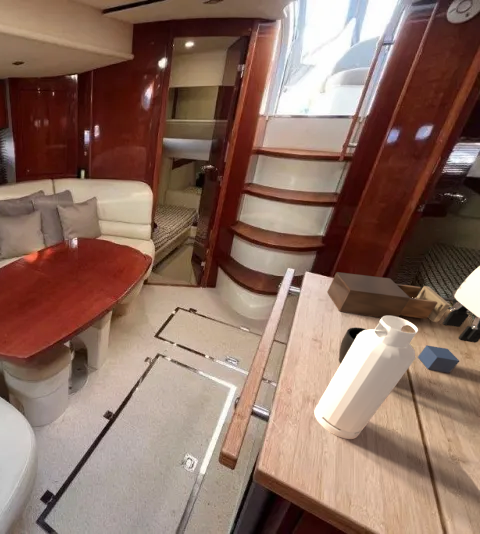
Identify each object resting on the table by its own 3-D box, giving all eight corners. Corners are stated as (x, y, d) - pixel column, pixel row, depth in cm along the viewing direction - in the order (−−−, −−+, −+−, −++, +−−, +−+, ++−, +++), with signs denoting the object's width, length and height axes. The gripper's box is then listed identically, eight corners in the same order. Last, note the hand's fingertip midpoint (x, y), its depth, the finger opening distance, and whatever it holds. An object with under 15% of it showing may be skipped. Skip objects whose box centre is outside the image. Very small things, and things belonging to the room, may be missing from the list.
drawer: (443, 306, 100) (455, 289, 96) (466, 327, 91) (480, 309, 88) (366, 296, 106) (375, 279, 102) (381, 314, 97) (392, 297, 94)
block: (438, 360, 81) (447, 348, 79) (449, 373, 78) (459, 361, 76) (417, 357, 83) (426, 345, 80) (427, 369, 79) (437, 357, 77)
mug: (348, 385, 75) (365, 358, 71) (327, 351, 85) (341, 325, 81) (387, 392, 73) (408, 364, 69) (361, 356, 83) (378, 329, 79)
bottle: (367, 443, 63) (445, 343, 49) (322, 433, 65) (385, 335, 51) (348, 409, 70) (412, 313, 56) (308, 401, 72) (360, 307, 58)
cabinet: (378, 299, 105) (390, 278, 101) (396, 320, 96) (410, 298, 92) (327, 292, 110) (336, 271, 105) (339, 311, 100) (350, 290, 96)
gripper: (573, 293, 58) (508, 361, 67) (499, 254, 72) (454, 314, 81) (520, 287, 60) (463, 354, 69) (458, 250, 74) (418, 309, 83)
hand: (459, 332), depth 75 cm, fingers open, 4 cm apart
